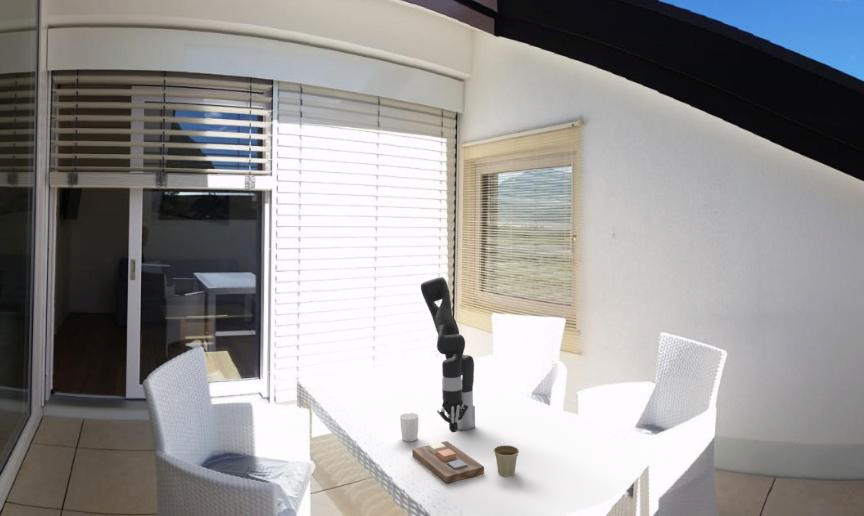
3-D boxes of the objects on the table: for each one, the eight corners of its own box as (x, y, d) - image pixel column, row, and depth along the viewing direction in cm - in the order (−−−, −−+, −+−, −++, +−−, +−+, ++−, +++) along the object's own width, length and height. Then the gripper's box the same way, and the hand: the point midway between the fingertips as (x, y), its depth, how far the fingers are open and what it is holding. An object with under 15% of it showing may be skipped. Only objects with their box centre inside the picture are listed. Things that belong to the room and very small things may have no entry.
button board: (447, 447, 233) (447, 440, 233) (484, 474, 208) (484, 466, 208) (412, 456, 226) (412, 448, 225) (446, 484, 201) (446, 476, 201)
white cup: (402, 443, 239) (402, 420, 238) (399, 436, 247) (398, 414, 246) (420, 440, 241) (420, 418, 240) (416, 434, 249) (416, 412, 248)
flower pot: (516, 466, 214) (516, 444, 214) (521, 478, 205) (521, 455, 204) (492, 467, 214) (491, 445, 213) (495, 479, 205) (495, 456, 204)
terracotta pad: (449, 456, 220) (449, 448, 220) (455, 461, 216) (455, 453, 216) (437, 458, 218) (437, 451, 218) (444, 464, 213) (444, 456, 213)
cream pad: (439, 448, 227) (439, 441, 227) (445, 453, 223) (445, 446, 223) (428, 451, 225) (428, 444, 225) (434, 456, 220) (434, 448, 220)
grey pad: (459, 467, 213) (459, 459, 213) (466, 472, 209) (466, 464, 209) (447, 470, 211) (447, 462, 211) (454, 475, 206) (454, 467, 206)
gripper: (461, 381, 218) (462, 424, 220) (432, 387, 212) (433, 432, 213) (472, 386, 212) (473, 431, 213) (442, 393, 205) (443, 438, 207)
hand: (453, 431), depth 213 cm, fingers closed
